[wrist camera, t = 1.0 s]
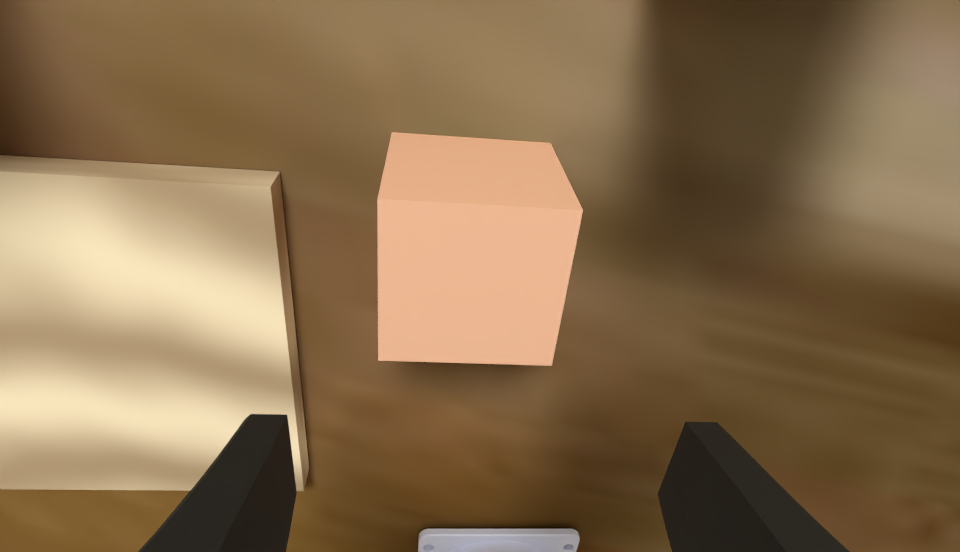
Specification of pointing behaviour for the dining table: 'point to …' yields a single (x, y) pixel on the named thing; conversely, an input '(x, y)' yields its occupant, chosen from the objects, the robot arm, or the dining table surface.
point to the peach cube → (473, 250)
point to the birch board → (140, 321)
